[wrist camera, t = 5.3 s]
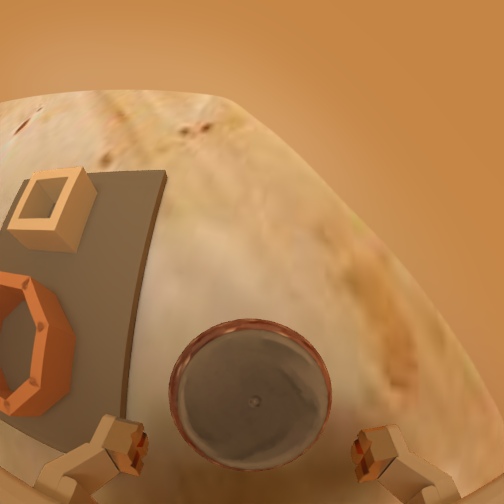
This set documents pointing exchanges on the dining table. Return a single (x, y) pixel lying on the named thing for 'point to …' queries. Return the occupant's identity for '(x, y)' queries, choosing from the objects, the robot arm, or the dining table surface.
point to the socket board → (72, 298)
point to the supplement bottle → (250, 395)
